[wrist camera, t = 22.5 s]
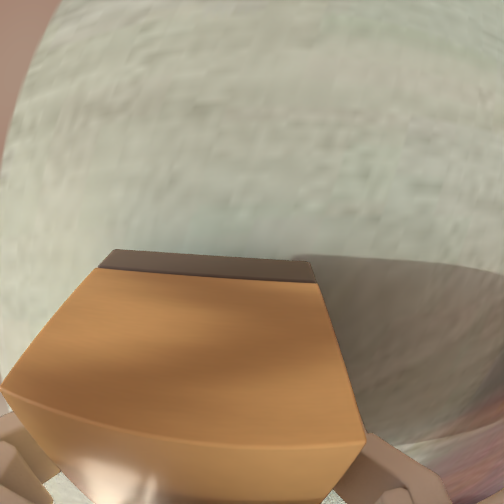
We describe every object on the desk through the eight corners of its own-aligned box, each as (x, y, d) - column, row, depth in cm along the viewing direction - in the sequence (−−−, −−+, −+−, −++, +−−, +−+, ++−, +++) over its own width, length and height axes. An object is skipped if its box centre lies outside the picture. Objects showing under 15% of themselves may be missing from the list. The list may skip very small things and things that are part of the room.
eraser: (310, 260, 7) (369, 442, 3) (272, 447, 10) (275, 551, 6) (113, 247, 7) (-4, 387, 3) (155, 437, 10) (133, 535, 6)
